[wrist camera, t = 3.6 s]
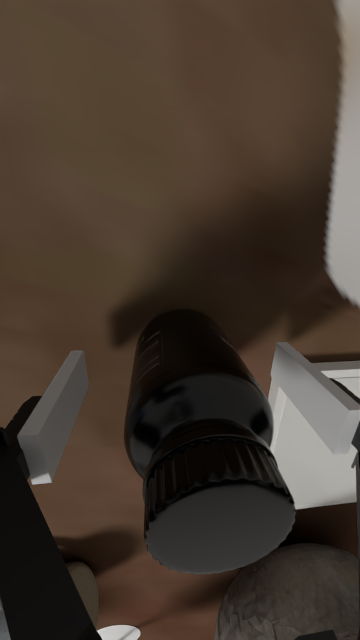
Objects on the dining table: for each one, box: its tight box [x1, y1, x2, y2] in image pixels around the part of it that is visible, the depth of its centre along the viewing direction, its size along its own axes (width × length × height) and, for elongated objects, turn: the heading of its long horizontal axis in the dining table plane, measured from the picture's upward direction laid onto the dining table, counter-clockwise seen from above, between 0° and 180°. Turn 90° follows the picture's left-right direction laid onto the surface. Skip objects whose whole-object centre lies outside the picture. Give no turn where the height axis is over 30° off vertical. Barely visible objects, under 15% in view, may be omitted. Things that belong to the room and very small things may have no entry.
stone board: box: [268, 361, 360, 509], centre depth 23 cm, size 18×14×1 cm
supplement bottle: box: [124, 309, 296, 574], centre depth 13 cm, size 7×7×12 cm
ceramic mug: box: [0, 561, 99, 640], centre depth 23 cm, size 11×8×8 cm
